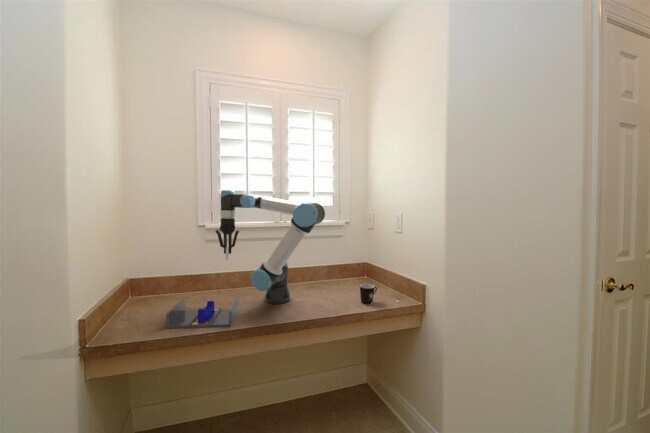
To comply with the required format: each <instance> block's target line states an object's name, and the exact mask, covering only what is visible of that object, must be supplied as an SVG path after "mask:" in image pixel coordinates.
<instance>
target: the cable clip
mask: <svg viewBox="0 0 650 433" xmlns="http://www.w3.org/2000/svg"><path fill="white" fill-rule="evenodd" d="M197 310H198V322H205V321H206V320H207V319H208V318H209V317H210V316H211V315H212V314H213V313H214V310H215V300H207V301H206V306H204V307H203V308H201V307H200V308H198V309H197Z"/></svg>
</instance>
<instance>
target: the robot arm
mask: <svg viewBox="0 0 650 433" xmlns="http://www.w3.org/2000/svg"><path fill="white" fill-rule="evenodd" d="M236 208H239V209H240V208H241V209H244V208H245V209H250V208H253V209H254V208H255V209H259V210H265V211H270V212H275V213H279V214H283V215H289V216H292V217H291V219H290V224H291V225H290V226H289V227H288V229H287V231H286V232H285V234H284V235H283V237H282V239H281V240H280V241H279V242H278V244H277V246H276V247H275V249H274V250H273V252H272V253H271V255H270V256H269V258H268V259H265V260H263V262H262V264H260V267H259V268H257V269H255V270H254V271H253V272H252V273H251V283H252V285H253V287H254V288H255V289H256V290H258V291H260V292H264V291H265V293H264V302H265V303H268V304H270V305H271V304H273V305H280V304H285V303H288V302H290V301H291V292H290V289H289V287H288V286H289V285H288V278H289V265H288V260H289V259H290V257H291V256H292V254H293V252H294V251H295V250H296V248H297V246H298V245H299V244H300V242H301V241H302V240H303V238H304V237H305V235H306V234H310V232H311V231H312V230H313V228H314V227H315V225H319V224H321V223H322V222H323V221H324V219H325V216H326V212H325V211H326V210H325V208H324V207H323V206H322V205H321V204H319V203H317V202H303V203H301V202H296V201H290V200H286V199H281V198H274V197H269V196H264V195H261V194H251V193H238V194H237V193H236V191H235V190H233V189H231V190H230V189H228V190H227V189H223V190H221V191H220V226H219V228H218V229H217V230H215V233H216V235H217V237H218V243H219V246H220V247H221V248H223V254H224V255H225V260H226V261H229V260H230V258H231V257H230V256H231V254H232V248H234V247H236V243H237V239H238V236H239V235H238V234H239V233H240V230H239V229H237V227H236V219H235V217H236ZM222 234H223V237H222ZM233 234H234V236H233ZM232 238H233V239H232Z"/></svg>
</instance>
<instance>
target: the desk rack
mask: <svg viewBox="0 0 650 433" xmlns="http://www.w3.org/2000/svg"><path fill="white" fill-rule="evenodd" d="M239 311H240V297H236V299H235V300H234V302H233V304H232V306H231V307H230V308H229V309H227V308H225V309H222V307H219V308H218V309H214V313H213V314H212V315H211V316H210V317H209V318H208V319H207V320H206V321H205V322H198V309H192V310H191V309H189V310H188V309H187V310H186V299H185V298H182V299H181V300H180V301H178V302H177V303H176V304H175V305H174V306H173V307H171V308H170V309H169V310H168V311H167V312H166V313H165V314H166V329H185V328H187V329H188V328H219V327H221V328H222V327H232V325H233V324H234V322H235V320H236V318H237V316H238V314H239Z"/></svg>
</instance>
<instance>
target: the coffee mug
mask: <svg viewBox="0 0 650 433" xmlns="http://www.w3.org/2000/svg"><path fill="white" fill-rule="evenodd" d="M377 290H378V289H377V286H376V285H373V284H372V283H371V284H370V283H362V284H360V285H359V292H360V294H359V295H360V303H361V304H362V303H363V304H371V303H372V304H373V301H374V296H375V294H376V292H377ZM363 304H362V305H363Z"/></svg>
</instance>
